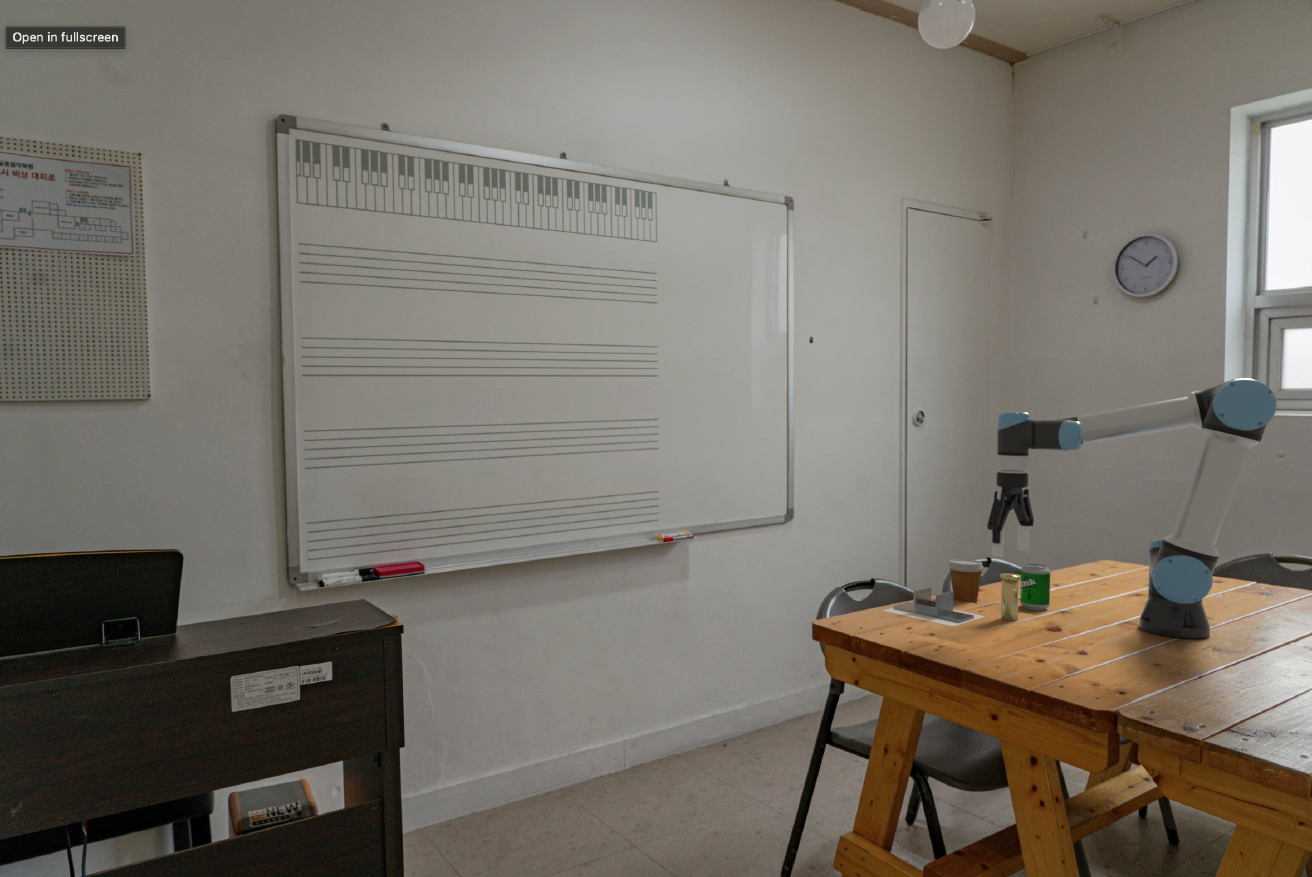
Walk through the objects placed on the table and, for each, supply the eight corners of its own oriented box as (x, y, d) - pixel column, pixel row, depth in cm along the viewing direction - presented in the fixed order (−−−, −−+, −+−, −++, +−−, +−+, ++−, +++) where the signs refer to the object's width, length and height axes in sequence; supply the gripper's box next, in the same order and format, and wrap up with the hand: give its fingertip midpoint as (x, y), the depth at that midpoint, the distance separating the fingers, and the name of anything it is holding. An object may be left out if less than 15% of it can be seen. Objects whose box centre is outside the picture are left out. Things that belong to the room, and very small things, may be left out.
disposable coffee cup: (987, 607, 234) (988, 565, 233) (954, 606, 234) (954, 564, 233) (975, 599, 243) (976, 558, 243) (943, 599, 243) (943, 558, 243)
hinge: (974, 618, 216) (974, 595, 216) (959, 623, 211) (960, 599, 211) (908, 604, 231) (909, 583, 230) (893, 608, 226) (894, 586, 226)
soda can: (1043, 605, 236) (1044, 563, 236) (1053, 611, 229) (1054, 568, 229) (1016, 604, 237) (1017, 562, 237) (1025, 610, 230) (1026, 567, 229)
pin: (1023, 624, 215) (1024, 575, 215) (1014, 627, 212) (1015, 577, 211) (1004, 620, 219) (1005, 572, 218) (995, 623, 216) (996, 574, 215)
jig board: (985, 620, 218) (985, 616, 218) (953, 631, 208) (953, 626, 208) (914, 606, 234) (914, 601, 234) (881, 615, 224) (882, 610, 224)
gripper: (1021, 468, 225) (1019, 546, 226) (974, 472, 209) (972, 556, 210) (1048, 470, 219) (1046, 550, 220) (1002, 474, 203) (1000, 560, 204)
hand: (1010, 553), depth 215 cm, fingers open, 13 cm apart
